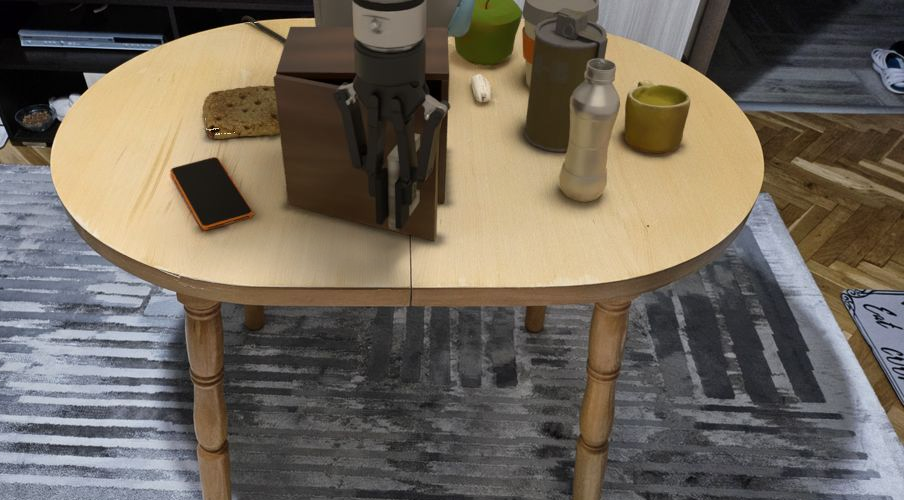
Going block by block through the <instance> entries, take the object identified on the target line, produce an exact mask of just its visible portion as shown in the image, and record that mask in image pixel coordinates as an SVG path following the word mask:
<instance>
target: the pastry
mask: <svg viewBox="0 0 904 500" xmlns="http://www.w3.org/2000/svg"><path fill="white" fill-rule="evenodd" d="M203 111H204V112H203ZM202 112H203V116H204V119H205V118H206V124H205V126H204V127H205V131H206V133H207V136H208V137H209V138H210V139H214V140H226V139H235V138H236V137H238V138H241V137H261V136H269V137H271V138H272V137H273V136H275V135H280V130H279V122H278V113H277V105H276V96H275V88H274V85H254V86H251V85H250V86H249V85H248V86H245V87H235V88H230V89H225V90H223V89H221V90H216V91H212V92H210V93H209V94H208V95H207V96H206V97H205V98H204V101H203V106H202ZM206 128H207V129H213V128H219V129H216V130H215V129H214V130H211V131H209V130H206ZM234 132H235V133H234ZM216 133H217V134H218V133H220V135H215V134H216ZM221 133H222V134H221ZM224 133H226V134H224ZM227 133H231V134H227Z"/></svg>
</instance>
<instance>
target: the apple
mask: <svg viewBox="0 0 904 500" xmlns="http://www.w3.org/2000/svg"><path fill="white" fill-rule="evenodd" d="M522 12H523V9H521V7H520V6H519V5H518V4H517V2H516V1H515V0H475V3H474V9H473V14H472V19H471V24H470V27H469V30H468V32H467V33H466V34H465V35H463V36H460V37H453V38H454V48H455V51H456V53H457V54H458V55H459V56H460V57H462V58H463V59H464V60H466V61H467V62H468V63H470V64H473V65H476V66H485V67H486V66H494V65H497V64H500V63H501V62H503V61H505V60H507V59H508V58H509V57H510V56H512V53H513V52H514V47H515V41H516V37H517V36H516V35H517V33H518V30H519V28H520V25H521V22H522V17H523V14H522Z"/></svg>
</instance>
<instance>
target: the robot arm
mask: <svg viewBox="0 0 904 500" xmlns="http://www.w3.org/2000/svg"><path fill="white" fill-rule="evenodd" d="M312 1H313V2H312V3H313V11H314V12H313V13H314V25H315V26H314V27H353V33H354V36H355V38H356V40H355V41H354V58H355V71H356V77H355V79H354V81H353V83H351V84H349V83H347V82H345V83H343V84H342V85H341V86H340V87H339V88H338V89H337V90H336V91H335V92H334V93H333V98H334V100H335V102H336V104H337V105H338V107H339V109H340V111H341V115H342V120H343V124H344V129H345V134H346V139H347V144H348V149H349V153H350V158H351V163H352V166H353V168H355V169H362V170H364V171H365V172H366V174H367V175H368V188H369V189H368V191H369V195H370V197H374V198H375V202H376V224H379V225H382V224H383V223H384V221H385V220H386V218H387V217H388V171H387V168H383V169H382V166H383V164H384V163H385V162H386V160H385V161H384V149H385V136H386V124H387V120H389V121H391V122H393V130H394V132H395V133H396V139H397V149H398V158H399V167H400V177H399V179H398V180H397V181H396V183H395V226H396V229H400V230H401V229H402V228H403V226H404V225H405V223H406V222H407V220H408V219H409V205H410V206H411V204H412V203H413V201H414V200H415V198H416V189H417V182H419V183H424V182H425V181H426V179H427V178H428V176H429V175H430V173H431V172H432V170H433V164H434V159H435V154H436V149H437V144H438V138H439V133H440V128H441V123H442V119H443V117H444V116H445V114H446V113H447V112H448V113H449V110H450V108H451V104H450V103H449V101H448V102H447V101H441V102H439V101H437V100H436V99H434V98H433V97H432V96H430V95H429V89H428V87H427V85H426V82H425V67H426V41H425V39H424V37H425V35H426V28H448V38H451V37H452V38H454V37H460V36H463V35H465V34H466V33H467V32H468V30H469V27H470V24H471V19H472V14H473V9H474V3H475V0H312ZM246 21H248V22H250V23H252V24H253V25H254V26H255V27H257V28H259V29H260V30H261V31H264V32H266V33H267V34H268V35H270V36H272V37H275V39H277V40H279V41H280V42H282V43H284V44H285V42H286V39H287V38H285V37H283V36H282V35H281V34H279V33H277V32H275V31H274V30H272V29H270V28H268V27H267V26H265V25H263V24H262V23H260V22H258V20H256V19H255V18H253V17H252V16H249V15H244V16H242V18H241V19H240V22H243V23H245V22H246ZM254 22H258V23H254ZM358 98H360V100H361V101H362V103H363V104H364V106H365V107H366V109H367V110H368V118H367V126H369V130H368V146H367V141H366V135H365V130H364V125H363V120H362V114H361V109H360V104H359V101H358ZM422 105H423V106H424V108H425V112H424V116H425V119H426V120H428V121H427V122H426V124H425V127H424V132H423V137H422V143H421V149H420V154H419V160H418V165H417V154H416V143H415V133H414V120H415V112H416V111H417V110H418V109H419V108H420V107H421V106H422Z"/></svg>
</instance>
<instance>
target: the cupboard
mask: <svg viewBox="0 0 904 500" xmlns="http://www.w3.org/2000/svg"><path fill="white" fill-rule="evenodd" d="M285 39H286V42H285V43H284V46H283V49H282V51H281V54H280V58H279V61H278V65H277V67H276V70H275V75H276V74H279V75H284V76H290V77H295V78H300V79H306V80H311V81H316V82H321V83H327V84H332V85H337V86H341V85H342V84H343V83H345V82H347V83H349V84H351V83H353V81H354V79H355V77H356V71H355V58H354V41H355V40H356V38H355V36H354V33H353V27H316V26H289V29H288V32H287V35H286V38H285ZM424 39H425V41H426V67H425V82H426V85H427V87H428V89H429V95H430V96H432V97H433V98H434V99H436V100H437V101H439V102H441V101H447V102H448V103H449V98H450V97H449V96H450V54H449V37H448V28H426V35H425V37H424ZM448 122H449V111H448V112H447V113H446V114H445V116H444V117H443V119H442V123H441V128H440V133H439V164H438V199H437V204H445V203H446V184H447V183H446V180H447V154H448V151H447V150H448V126H449V125H448V124H449V123H448Z"/></svg>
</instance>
